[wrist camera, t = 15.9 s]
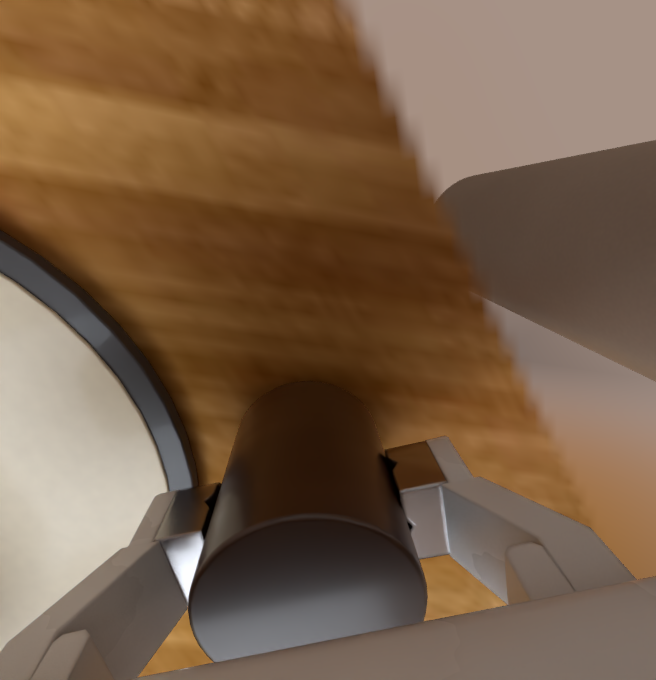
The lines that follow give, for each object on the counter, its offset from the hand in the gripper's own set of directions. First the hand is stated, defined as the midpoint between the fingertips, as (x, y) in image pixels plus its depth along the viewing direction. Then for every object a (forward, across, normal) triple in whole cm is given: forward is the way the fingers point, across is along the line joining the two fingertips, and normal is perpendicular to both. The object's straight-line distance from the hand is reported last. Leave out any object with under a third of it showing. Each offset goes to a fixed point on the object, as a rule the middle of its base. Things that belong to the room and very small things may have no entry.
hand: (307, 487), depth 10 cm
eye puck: (+2, 0, 0) cm, 2 cm away
